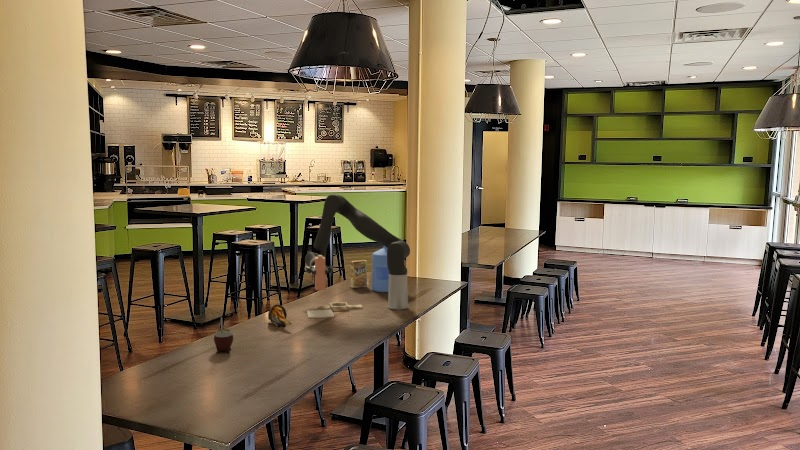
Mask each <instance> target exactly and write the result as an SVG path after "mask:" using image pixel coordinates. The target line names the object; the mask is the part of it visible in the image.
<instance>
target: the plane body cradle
mask: <svg viewBox="0 0 800 450" xmlns="http://www.w3.org/2000/svg"><path fill="white" fill-rule="evenodd" d="M361 309H364V307H363V304H348V302H347V301H343V302H328V305H317V306H316V305H315V307H314V310H332V312H336V311H337V312H340V311H341V312H342V311H349V310H361Z"/></svg>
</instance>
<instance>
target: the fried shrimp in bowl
mask: <svg viewBox="0 0 800 450" xmlns="http://www.w3.org/2000/svg"><path fill="white" fill-rule="evenodd" d="M267 314H268V315H267V316H268V317H267V318H268V320H269V321H270V322H271V323H273V324H274V325H275V326H277V327H279V326H282V327H283V326H286V325H288V326H291V325H292V323H293V322H291V321H289V320H287V316H288V314H287V310H286V308H285V307H284V306H283V305H281V304H277V303H276V304H274V305H273V306H272V307H271V308H270V309H269V311H268V313H267Z"/></svg>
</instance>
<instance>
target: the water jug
mask: <svg viewBox="0 0 800 450" xmlns="http://www.w3.org/2000/svg"><path fill="white" fill-rule="evenodd" d="M387 249H388V248H387V247H385V246H384V245H383V247H382V248H380V249H378V250H376V251H374V252H372V255H371V256H372V257H371V262H372V264H371V265H372V267H371V268H372V270H371V276H372V279H371V280H372V281H371V290H372V291H374V292H378V293H385V292H386V293H388V291H389V270H388V267H387Z"/></svg>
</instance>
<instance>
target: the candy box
mask: <svg viewBox="0 0 800 450" xmlns="http://www.w3.org/2000/svg"><path fill="white" fill-rule="evenodd" d="M349 263H350V264H349V265H350V270H349V271H350V288H352V289H357V288H367V287H368V261H367V260H366V259H359V260H358V259H357V260H350V261H349Z"/></svg>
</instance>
